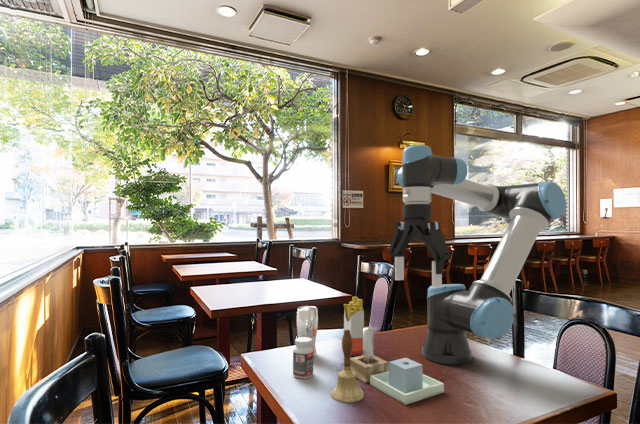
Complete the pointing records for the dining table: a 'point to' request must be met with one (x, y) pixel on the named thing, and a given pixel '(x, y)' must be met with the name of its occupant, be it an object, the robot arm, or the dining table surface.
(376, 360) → the oak block
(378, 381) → the tray
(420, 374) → the slate-blue block
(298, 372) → the pill bottle
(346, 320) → the french fries container
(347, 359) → the hand bell
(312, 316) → the beer glass
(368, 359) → the cylinder
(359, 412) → the dining table surface
